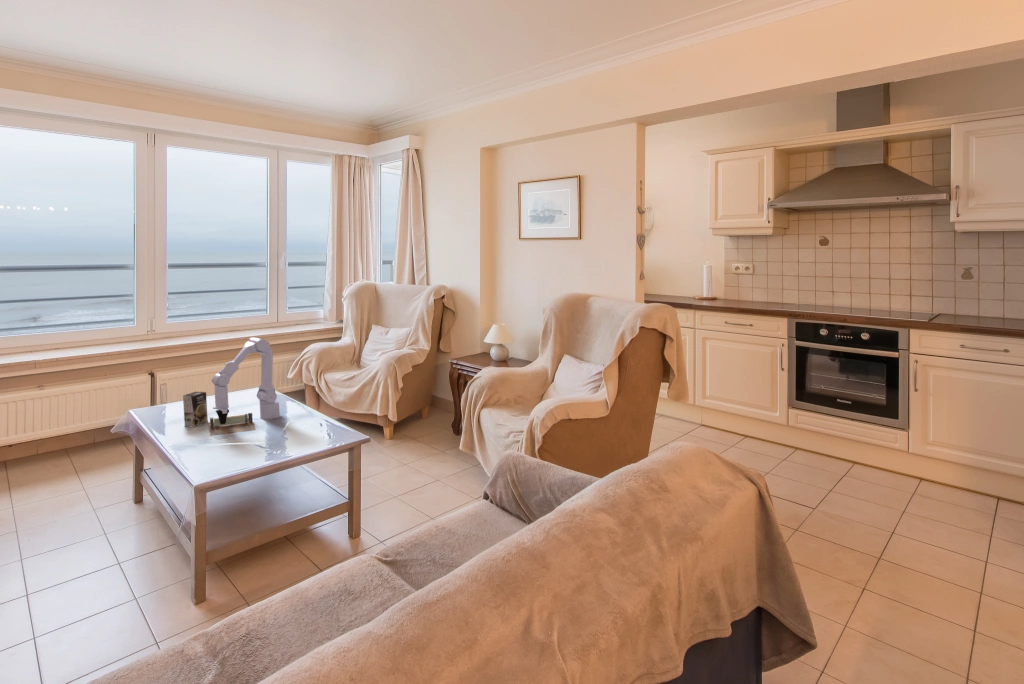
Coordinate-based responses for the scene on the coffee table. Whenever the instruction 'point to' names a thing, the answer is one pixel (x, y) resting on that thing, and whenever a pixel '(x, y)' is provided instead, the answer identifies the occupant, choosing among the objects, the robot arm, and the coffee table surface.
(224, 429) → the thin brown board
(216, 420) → the gate
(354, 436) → the coffee table surface
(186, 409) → the coffee box
